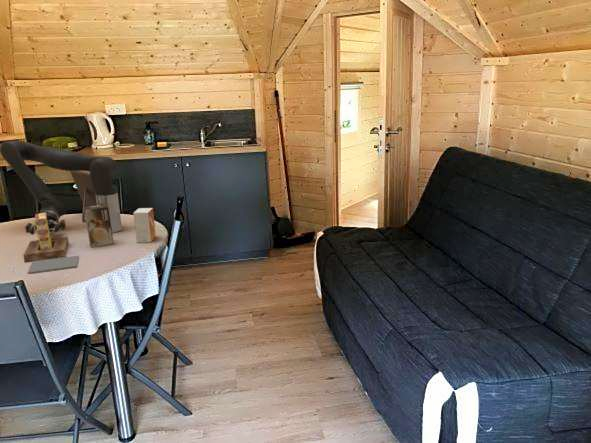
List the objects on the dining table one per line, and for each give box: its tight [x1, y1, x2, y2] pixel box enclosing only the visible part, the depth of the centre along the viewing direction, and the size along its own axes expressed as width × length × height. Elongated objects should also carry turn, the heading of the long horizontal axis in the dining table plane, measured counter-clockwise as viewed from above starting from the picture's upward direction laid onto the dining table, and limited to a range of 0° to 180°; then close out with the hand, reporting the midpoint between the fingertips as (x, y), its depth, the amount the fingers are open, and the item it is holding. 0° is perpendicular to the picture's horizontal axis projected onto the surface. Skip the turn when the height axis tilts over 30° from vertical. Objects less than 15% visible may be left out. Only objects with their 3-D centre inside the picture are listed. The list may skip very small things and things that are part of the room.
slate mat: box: [27, 255, 80, 275], centre depth 177 cm, size 16×12×1 cm
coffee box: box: [84, 204, 115, 248], centre depth 198 cm, size 9×6×16 cm
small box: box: [132, 207, 157, 243], centre depth 203 cm, size 8×6×13 cm
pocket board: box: [23, 236, 70, 263], centre depth 191 cm, size 14×18×3 cm
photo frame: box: [69, 171, 97, 223], centre depth 239 cm, size 15×22×25 cm
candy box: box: [34, 213, 52, 250], centre depth 189 cm, size 9×4×15 cm, turn 28°
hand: (43, 230), depth 189 cm, fingers open, 8 cm apart
